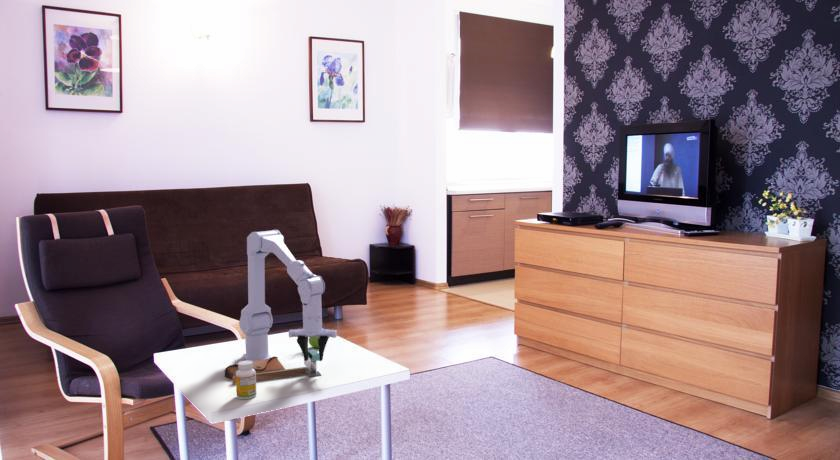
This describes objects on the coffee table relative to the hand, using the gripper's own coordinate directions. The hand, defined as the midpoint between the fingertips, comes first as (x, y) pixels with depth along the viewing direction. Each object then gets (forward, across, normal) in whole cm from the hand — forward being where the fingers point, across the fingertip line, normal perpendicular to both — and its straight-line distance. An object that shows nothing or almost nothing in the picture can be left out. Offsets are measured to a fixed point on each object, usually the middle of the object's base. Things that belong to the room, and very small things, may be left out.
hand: (313, 359), depth 205 cm
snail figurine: (+5, -7, +30) cm, 31 cm away
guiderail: (+5, -12, -4) cm, 14 cm away
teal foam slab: (+4, -1, +3) cm, 5 cm away
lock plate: (+5, 0, 0) cm, 5 cm away
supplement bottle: (+5, -14, -20) cm, 25 cm away
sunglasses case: (+5, -18, 0) cm, 19 cm away
